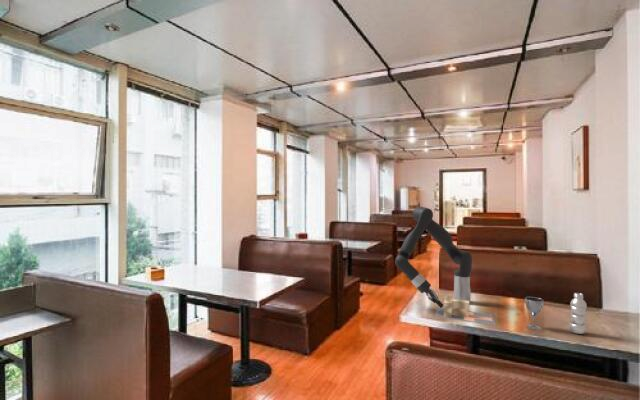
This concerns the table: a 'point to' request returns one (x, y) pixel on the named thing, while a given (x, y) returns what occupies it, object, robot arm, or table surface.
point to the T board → (473, 317)
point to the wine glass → (534, 309)
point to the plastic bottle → (578, 314)
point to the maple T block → (455, 307)
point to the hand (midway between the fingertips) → (442, 306)
